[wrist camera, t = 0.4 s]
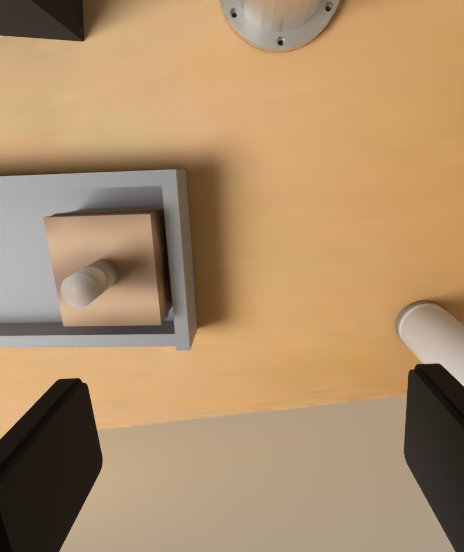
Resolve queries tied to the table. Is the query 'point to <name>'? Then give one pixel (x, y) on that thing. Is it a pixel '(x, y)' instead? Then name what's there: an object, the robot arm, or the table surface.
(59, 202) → the bay
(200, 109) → the table surface
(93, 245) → the knobbed wooden box
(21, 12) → the coffee maker
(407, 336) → the travel mug
